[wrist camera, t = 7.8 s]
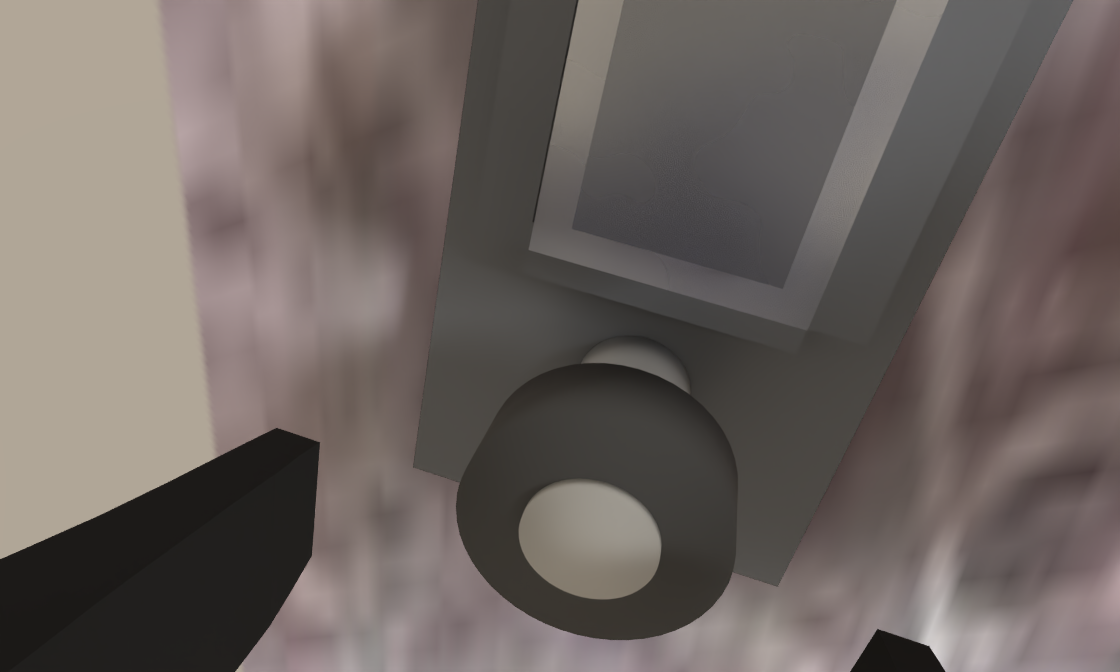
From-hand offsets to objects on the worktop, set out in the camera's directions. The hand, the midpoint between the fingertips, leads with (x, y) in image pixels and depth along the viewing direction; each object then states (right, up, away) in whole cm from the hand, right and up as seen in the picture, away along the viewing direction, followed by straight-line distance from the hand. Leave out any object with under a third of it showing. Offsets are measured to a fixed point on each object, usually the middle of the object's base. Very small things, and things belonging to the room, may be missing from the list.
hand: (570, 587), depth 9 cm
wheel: (+1, +1, +3) cm, 4 cm away
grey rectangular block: (+3, +8, +3) cm, 9 cm away
